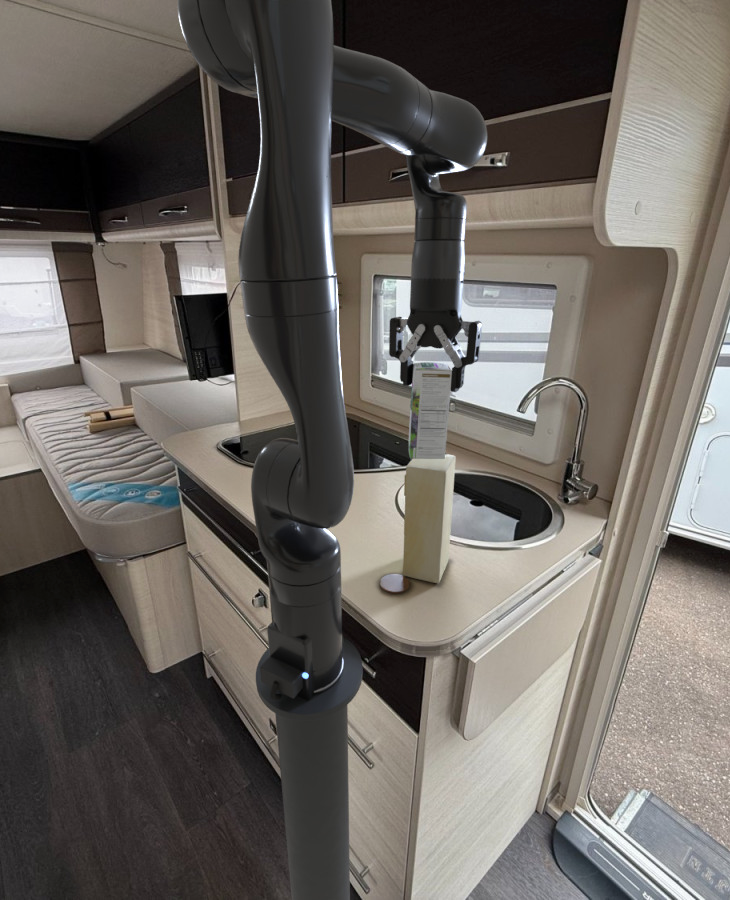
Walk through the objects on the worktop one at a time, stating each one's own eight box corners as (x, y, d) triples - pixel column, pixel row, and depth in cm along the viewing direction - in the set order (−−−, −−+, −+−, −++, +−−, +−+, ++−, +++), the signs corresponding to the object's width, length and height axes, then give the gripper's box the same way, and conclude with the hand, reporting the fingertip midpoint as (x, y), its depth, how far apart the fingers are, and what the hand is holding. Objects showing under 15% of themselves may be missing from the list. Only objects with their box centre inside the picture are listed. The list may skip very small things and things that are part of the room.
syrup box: (407, 447, 80) (410, 361, 75) (442, 447, 80) (448, 362, 74) (409, 459, 74) (413, 368, 69) (446, 460, 74) (453, 368, 69)
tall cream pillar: (410, 551, 90) (415, 449, 82) (448, 560, 87) (457, 455, 79) (398, 575, 83) (401, 465, 75) (438, 584, 80) (446, 472, 73)
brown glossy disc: (401, 597, 77) (401, 595, 77) (374, 587, 79) (374, 585, 79) (413, 581, 81) (413, 579, 81) (387, 572, 83) (387, 570, 83)
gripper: (381, 275, 68) (379, 387, 73) (478, 276, 61) (468, 399, 67) (402, 275, 74) (399, 378, 79) (493, 276, 67) (482, 388, 73)
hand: (430, 387), depth 73 cm, fingers closed on syrup box, 7 cm apart
